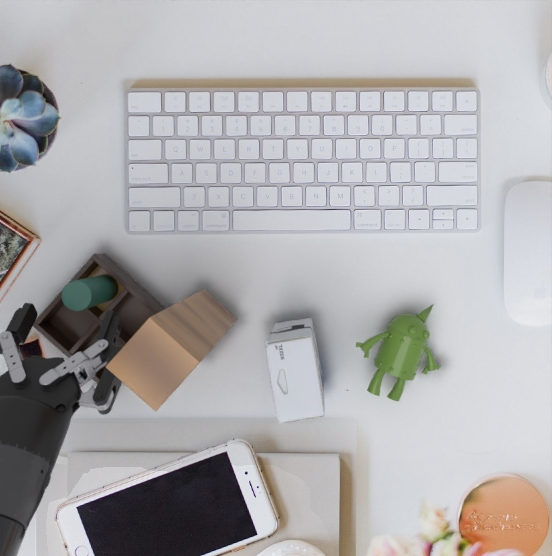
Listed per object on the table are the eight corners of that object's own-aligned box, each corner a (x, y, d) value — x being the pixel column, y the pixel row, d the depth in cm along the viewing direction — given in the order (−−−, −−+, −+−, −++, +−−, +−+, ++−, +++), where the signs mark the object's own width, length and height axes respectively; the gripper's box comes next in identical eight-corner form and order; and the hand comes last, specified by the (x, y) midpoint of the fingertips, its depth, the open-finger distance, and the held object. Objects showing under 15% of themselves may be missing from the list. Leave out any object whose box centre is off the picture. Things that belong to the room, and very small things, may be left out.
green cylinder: (106, 307, 67) (77, 317, 59) (85, 289, 67) (54, 297, 59) (123, 287, 67) (97, 294, 59) (103, 269, 67) (74, 274, 59)
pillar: (207, 353, 68) (155, 412, 46) (173, 322, 68) (104, 367, 46) (237, 319, 68) (200, 362, 46) (203, 288, 68) (149, 316, 46)
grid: (112, 381, 69) (102, 388, 65) (43, 320, 68) (30, 325, 65) (172, 313, 68) (165, 318, 65) (104, 252, 68) (93, 253, 65)
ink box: (325, 386, 68) (326, 418, 56) (284, 392, 68) (277, 426, 57) (313, 316, 68) (312, 334, 56) (272, 322, 68) (263, 342, 56)
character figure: (351, 395, 61) (390, 290, 61) (332, 377, 66) (367, 280, 65) (436, 414, 66) (472, 317, 65) (412, 396, 70) (445, 305, 70)
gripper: (78, 454, 45) (134, 294, 56) (-100, 438, 45) (-9, 282, 57) (98, 489, 51) (146, 337, 62) (-60, 475, 51) (16, 326, 62)
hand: (72, 311), depth 59 cm, fingers open, 8 cm apart
